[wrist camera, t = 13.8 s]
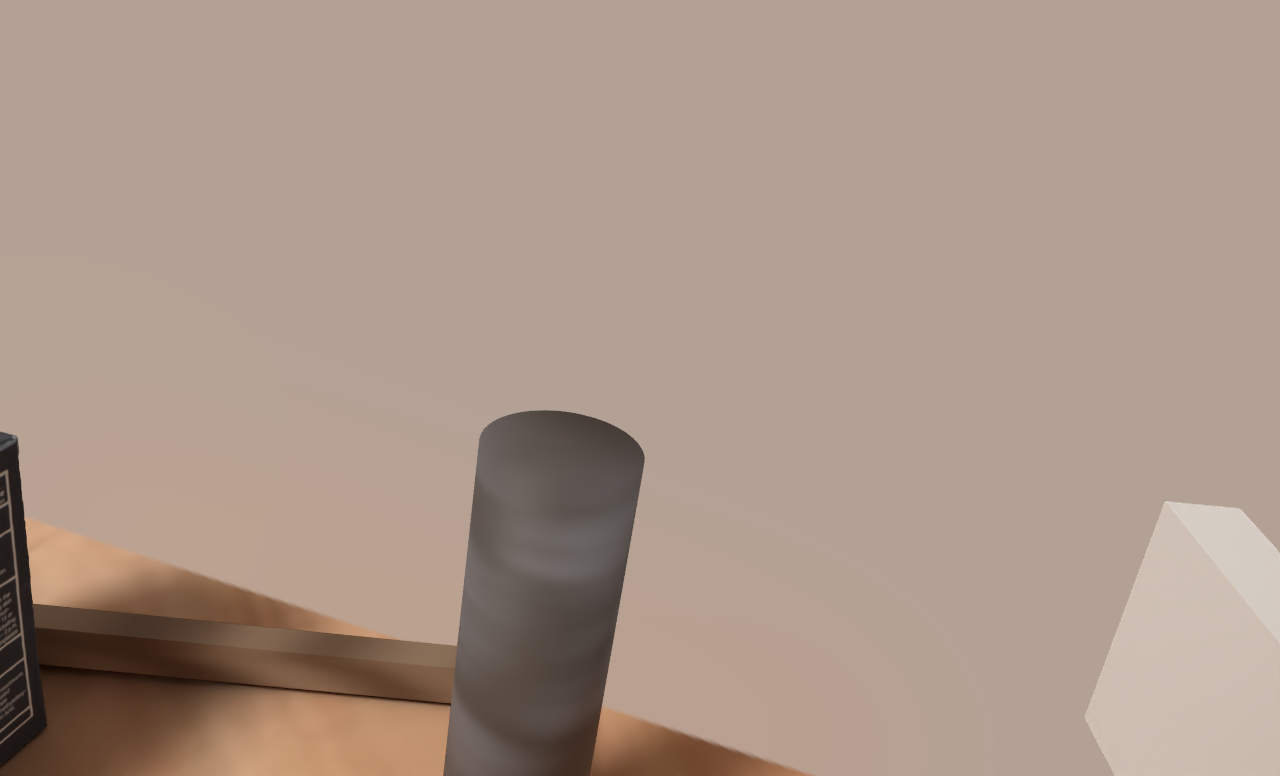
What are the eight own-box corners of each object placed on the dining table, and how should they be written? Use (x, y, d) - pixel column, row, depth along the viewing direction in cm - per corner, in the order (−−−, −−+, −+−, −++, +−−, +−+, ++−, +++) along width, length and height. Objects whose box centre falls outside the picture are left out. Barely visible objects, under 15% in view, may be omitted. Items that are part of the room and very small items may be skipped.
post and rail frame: (575, 692, 42) (633, 330, 36) (565, 1163, 27) (663, 675, 21) (-230, 614, 39) (-307, 210, 33) (-737, 1088, 24) (-1033, 507, 18)
